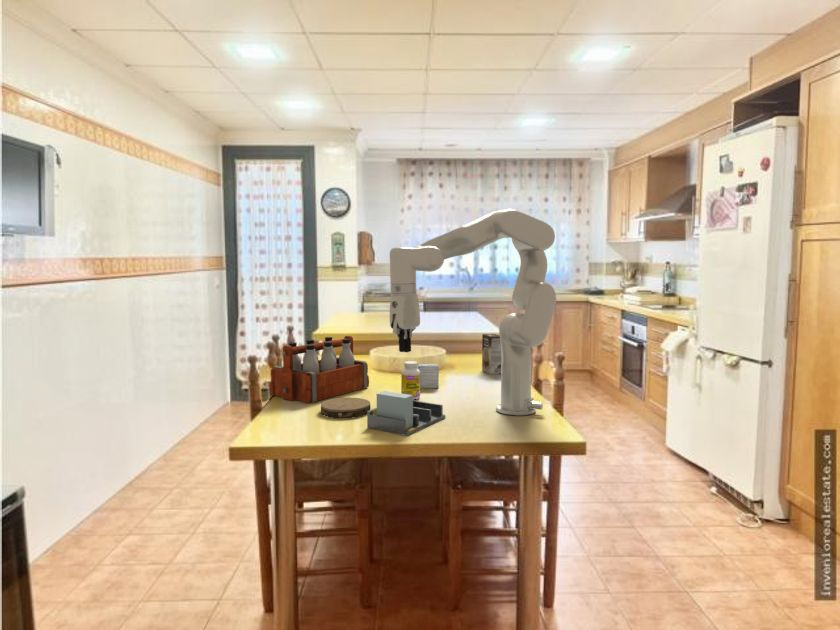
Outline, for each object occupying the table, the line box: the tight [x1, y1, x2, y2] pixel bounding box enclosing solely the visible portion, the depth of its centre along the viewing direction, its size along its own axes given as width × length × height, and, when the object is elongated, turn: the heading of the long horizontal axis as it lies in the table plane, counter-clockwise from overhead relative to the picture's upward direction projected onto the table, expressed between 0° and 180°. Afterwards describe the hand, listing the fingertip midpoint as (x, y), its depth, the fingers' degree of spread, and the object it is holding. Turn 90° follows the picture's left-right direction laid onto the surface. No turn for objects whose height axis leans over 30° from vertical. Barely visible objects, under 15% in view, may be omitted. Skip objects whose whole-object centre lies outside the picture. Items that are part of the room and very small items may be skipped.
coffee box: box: [481, 333, 502, 375], centre depth 251 cm, size 9×6×16 cm
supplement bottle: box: [400, 360, 421, 400], centre depth 204 cm, size 7×7×13 cm
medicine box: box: [417, 363, 440, 389], centre depth 222 cm, size 8×4×9 cm, turn 92°
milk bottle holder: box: [269, 335, 370, 404], centre depth 215 cm, size 21×35×19 cm, turn 143°
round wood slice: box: [320, 397, 371, 419], centre depth 187 cm, size 16×16×3 cm
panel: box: [376, 390, 413, 429], centre depth 169 cm, size 10×4×9 cm, turn 58°
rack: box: [366, 400, 446, 437], centre depth 174 cm, size 14×21×5 cm, turn 147°
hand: (405, 351), depth 172 cm, fingers closed
